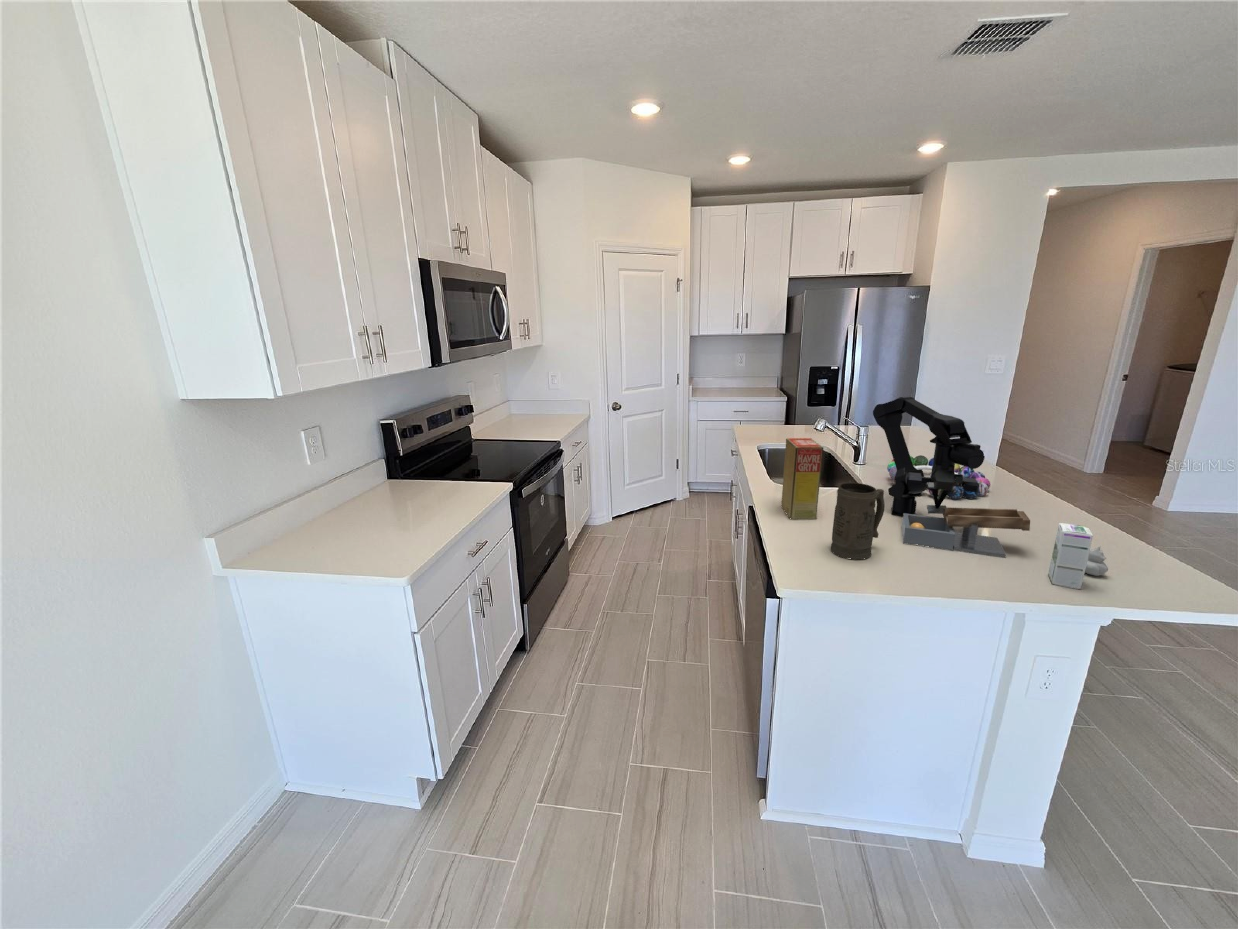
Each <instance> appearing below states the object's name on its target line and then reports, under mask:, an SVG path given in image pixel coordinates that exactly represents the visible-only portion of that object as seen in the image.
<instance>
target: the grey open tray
mask: <svg viewBox="0 0 1238 929" xmlns="http://www.w3.org/2000/svg"><path fill="white" fill-rule="evenodd" d="M901 520H902V522H901V529H900V530H901V537H903V538H902V544H904V543H908V544H907V545H911V544H918V545H924V546H923V547H925V546H929V547H928V548H931V547H934V548H933V549H938V548H943V549H942V550H945V549H948V550H947V551H952V550H953V551H954V549H953V546H954V540H955V532H956V531H955V529H954V527H952V526H947V523H946V520H944V517H939V516H929V515H921V514H906V513H903V516H902V519H901ZM913 523H920V524H922V525H923V526H924V529H922V528H915V527H910V525H911V524H913ZM918 545H917V546H918Z"/></svg>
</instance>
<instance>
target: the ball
mask: <svg viewBox="0 0 1238 929" xmlns="http://www.w3.org/2000/svg"><path fill="white" fill-rule="evenodd" d="M910 527H915V528H922V529H924V526H923V525H922V524H920V523H913V524H911V525H910Z"/></svg>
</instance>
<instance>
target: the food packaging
mask: <svg viewBox="0 0 1238 929" xmlns="http://www.w3.org/2000/svg"><path fill="white" fill-rule="evenodd" d="M823 457H824V446H822V445H821V444H819V443H818V442H816V441H815V440H814V439H812V438H811V437H810V438H809V437H805V438H804V437H802V438H801V437H798V438H796V437H790V438H789V437H787V438H785V450H784V466H783V475H782V476H783V477H782V491H781V504H780V506H782V507H783V508H782V507H781V508H782V510H783V509H784V510H785V511H784V510H783V511H784V513H785V512H786V513H787V514H786V513H785V514H786V516H787V515H788V516H787V517H788V518H789V517H790V518H791V519H790V518H789V519H790V520H817V519H818V518H817V515H818V503H819V494H820V484H821V474H822V466H823Z"/></svg>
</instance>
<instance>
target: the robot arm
mask: <svg viewBox="0 0 1238 929" xmlns="http://www.w3.org/2000/svg"><path fill="white" fill-rule="evenodd" d="M903 414H908V415H909V416H911V417H913V418H915V419H916V420H918V421H919V422H921V423H923V424H925V425H926V426H927V427H928V430H929V431H930V433H931V434H933V435H934V437H933V438H931V439H930V440H929V442H930V443H932V444H935V447H934V452H933V458H934V459H933V465H932V470H931V471H930V474H931V478H930V476H925V474H924V471H923V470H922V469H919V470H917V469H916V468H915V466H913V463H912V460H911V457H910V456H911V454H910V451H909V449H908V446H907V443H906V439H905V437H904V434H903V430H902V427H901V425H902V422H903ZM872 416H873V418H874V420H875V422H876V424H877V425H878V426H879V427H880V428H881V429H882V430H883V431H884V433H885V436H886V440H887V443H888V446H889V450H890V453H891V456H892V460H893V459H894V462H895V465H896V469H897V471H896V475H895V480H894V484H893V485H892V486H891V487H889V488H888V489H887V490H888V496H890V497H892V504H891V507H890V509H891V510H890V514H891V515H893V516H900V517H903V513H906V514H914V515H916V511H917V503H918V502H917V500H916V498H918V497H919V498H920V497H921V496H922V494H923V492H925V491H924V489H925V487H927V489H926V490H928V491H929V490H931V492H932V494H933V496H932V497H933V502H934V505H935V507H936V508H939V507H940V505H941V504H943V502H944V500H945V498H946V497H948V496H947V495H948V494H949V493H950V492H955V489H954V487H958V486H959V487H963V489H964V490H965V491H969V492H978V491H979V483H978V481H977V480H976V479H975V478H966V477H963V475H961V474H958V473H957V474H955V473H954V468H955V464H959V465H960V466H961V467H963V466H965V467H969V468H972V469H974V470H976V469H978V468H980V467H981V466H982V464H983V463H984V461H985V458H986V457H985V455H984V451H983V450H981V444H974V443H972V439H971V436H970V434H969V432H968V430H967V427H966V425H965V421H964V420H963V419H961V418H959V417H956V416H954V415H949V414H948V415H947V414H942V413H939V412H938V411H936V410H934V409H932V408H931V407H929V406H927V405H925V404H923V403H922V402H920V401H918V400H916V399H915V398H914V397H913V396H910V395H909V396H900V397H898V398H896V399H894V400H890V401H888V402H885V403H879V404H876V405H875V406H874V408H873V410H872ZM938 490H940V493H939V497H938Z"/></svg>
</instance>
